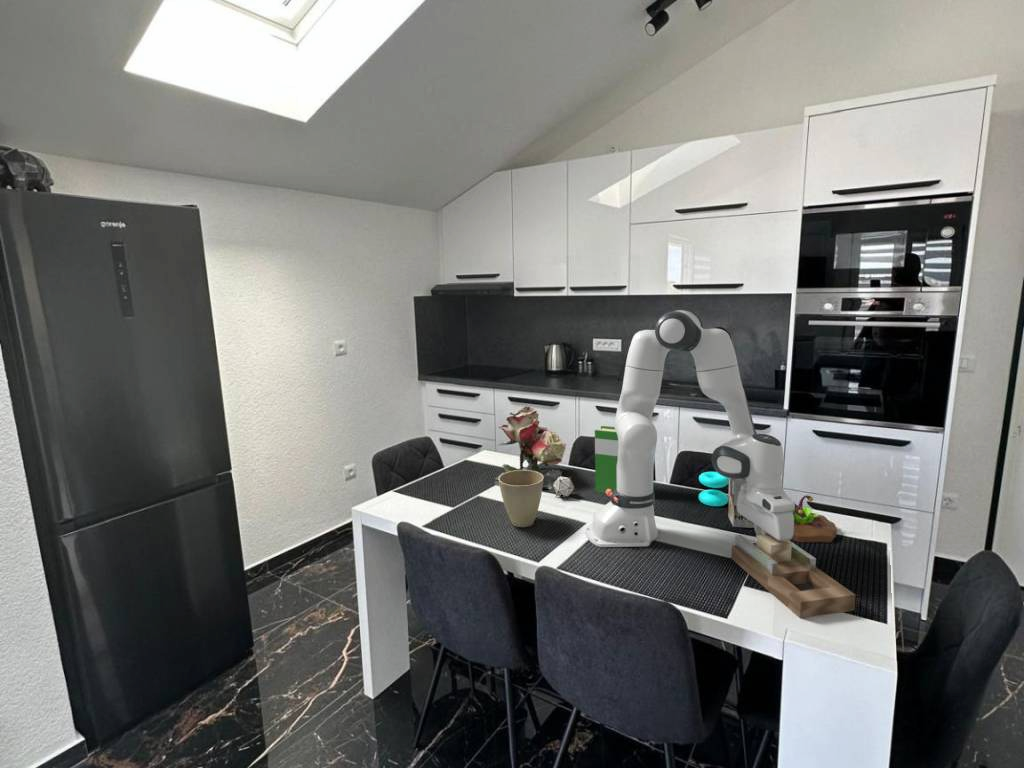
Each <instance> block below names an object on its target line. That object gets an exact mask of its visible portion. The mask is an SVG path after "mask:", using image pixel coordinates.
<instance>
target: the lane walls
mask: <svg viewBox="0 0 1024 768" xmlns="http://www.w3.org/2000/svg"><path fill="white" fill-rule="evenodd" d="M734 540H735V541H734V545H736V546H737V547H738V548H739V549H741V550H742V551H743V552H744V553H745V554H747V555H748V556H749V557H750V558H752V559H753V560H754V561H755V562H757V563H758V564H759V565H760V566H761V567H763V568H764V569H765V570H766V571H768V572H769V573H770V574H771V575H776V574H778V563H777V562H776V561H774V560H773V559H772V558H770V557H769V556H768V555H767V554H765V553H764V552H763V551H761V550H760V549H759V548H757V547H756V546H755V545H753V544H752V543H753V542H752V541H750V540H749V539H747V538H745V537H744V536H743V535H741V534H735V538H734ZM789 541H790V542H792V540H789ZM791 557H792V558H794V559H795V560H796V561H798V562H799V563H801V564H802V565H803V566H805V567H806V568H808V569H809V570H815V567H817V566H816V564H817V558H816V557H815V556H813V555H812V554H810V553H808V552H807V551H805V550H804V549H803V548H801V547H800V546H798V545H797V544H796V543H794V542H792V548H791Z"/></svg>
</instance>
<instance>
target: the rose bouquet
mask: <svg viewBox="0 0 1024 768" xmlns="http://www.w3.org/2000/svg"><path fill="white" fill-rule="evenodd" d="M509 415H510V416H508V417H506V421H507V422H508V423H507V424H501V426H498V429H501V430H502V431H503V432H504V434H505V436H507V438H508V439H509V441H503V442H500V443H499V444H498V446H499V447H500V446H508V445H514V444H517V443H518V447H519V451H520V454H519V468H517V467H514V466H511V465H510V464H506V463H504V464H502V467H503V468H504V471H505V472H501V473H500V474H498V476H497V477H495V478H494V485H495V486H498V487H500V485H499V481H495V479H496V480H498V478H499V476H500V475H502V474H504V473H506V472H510V471H515V470H530V471H536V472H539V473H541V474H542V475H543V477H544V478H543V486H545V487H546V485H547V488H545V487H542V490H543V489H547V490H552V489H553V485H550V484H554V482H555V481H556V480H557V479H558V478H559V475H560V476H561V477H562V472H561V473H557V474H553V475H551V474H549V472H550V471H551V470H552V471H558V470H559V469H557V470H556V469H551V467H550V466H556V465H558V464H560V463H561V462H562V459H563V457H564V455H565V454H564V453H565V451H566V446H567V444H566V443H565V442H563V441H562V440H561V438H560V436H559V435H558V434H556V432H555V431H551V430H549V429H548V427H544V426H540V421H539V412H538V410H536V409H534V407H533V406H529V405H526V406H524V407H521V408H519V409H517V410H516V411H515V413H512V412H509ZM489 454H490V453H489ZM524 462H527V464H528V465H527V466H525V467H524ZM538 463H542V464H544V467H545V468H546V469H540V466H539V464H538ZM548 468H549V469H548Z"/></svg>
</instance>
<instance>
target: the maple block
mask: <svg viewBox="0 0 1024 768" xmlns="http://www.w3.org/2000/svg"><path fill="white" fill-rule="evenodd" d="M790 541H791V540H786V541H779V540H777V539H776V538H774V537H773V536H771V535H770V534H763V535H757V539H756V542H755V543H756V547H757V548H759V549H760V550H761V551H763V552H764V553H765V554H767V555H768V556H769V557H770V558H772V559H773V560H774V561H776V562H783V561H790V560H791V548H792V543H793V541H791V542H790Z"/></svg>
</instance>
